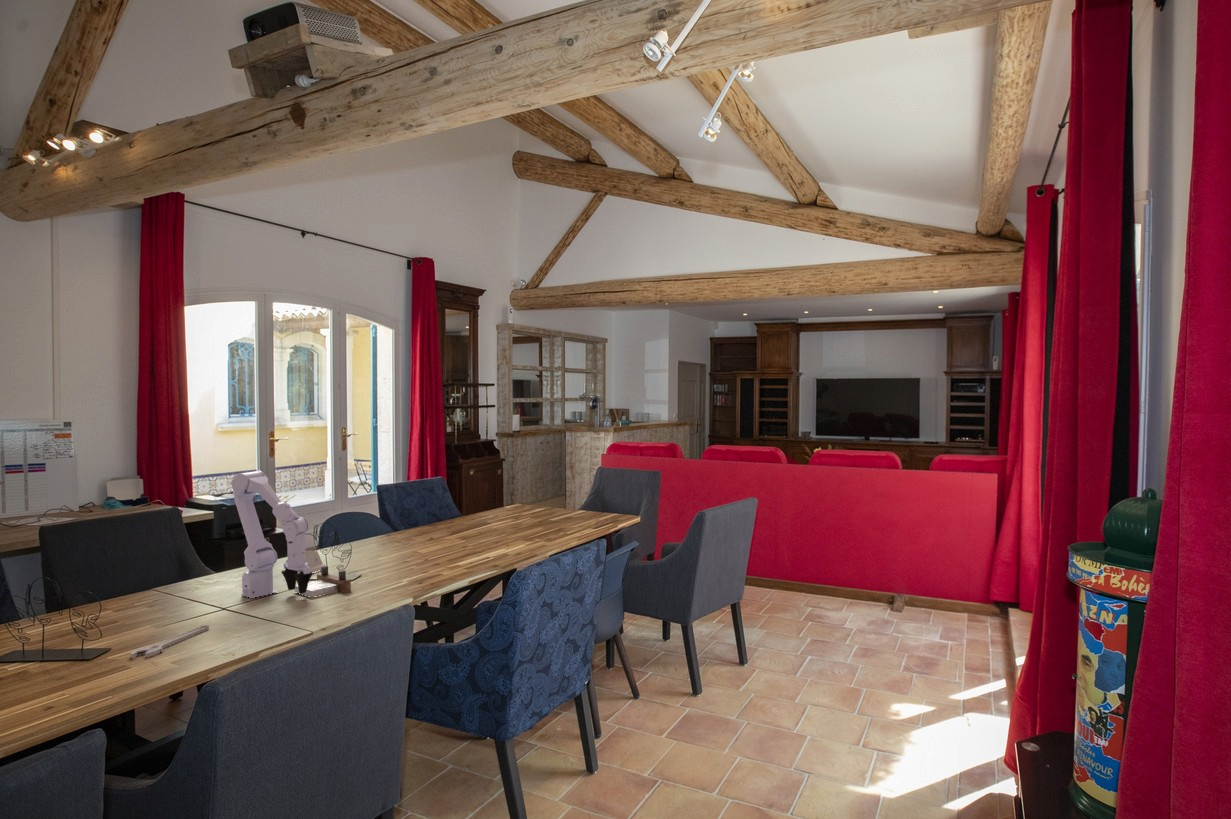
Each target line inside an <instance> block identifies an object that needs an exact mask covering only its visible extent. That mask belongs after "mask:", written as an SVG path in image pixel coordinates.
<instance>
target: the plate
mask: <svg viewBox="0 0 1231 819" xmlns="http://www.w3.org/2000/svg"><path fill="white" fill-rule="evenodd" d="M293 590H294V592H297V593H299V589H298V584H296V587H295V589H293ZM337 591H338V585H337V584H333V583H330V582H326V581H323V580H318V581H317V580H313V581H309V582H308V586H307V590H306V593H302V594H303V595H306V596H310V597H314V596H319V595H323V594H327V595H330V594H329V593H331V594H334V593H333V592H335V593H338V592H339V591H338V592H337ZM303 595H302V596H303ZM306 596H305V597H306ZM323 596H324V595H323ZM319 597H320V596H319Z"/></svg>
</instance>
